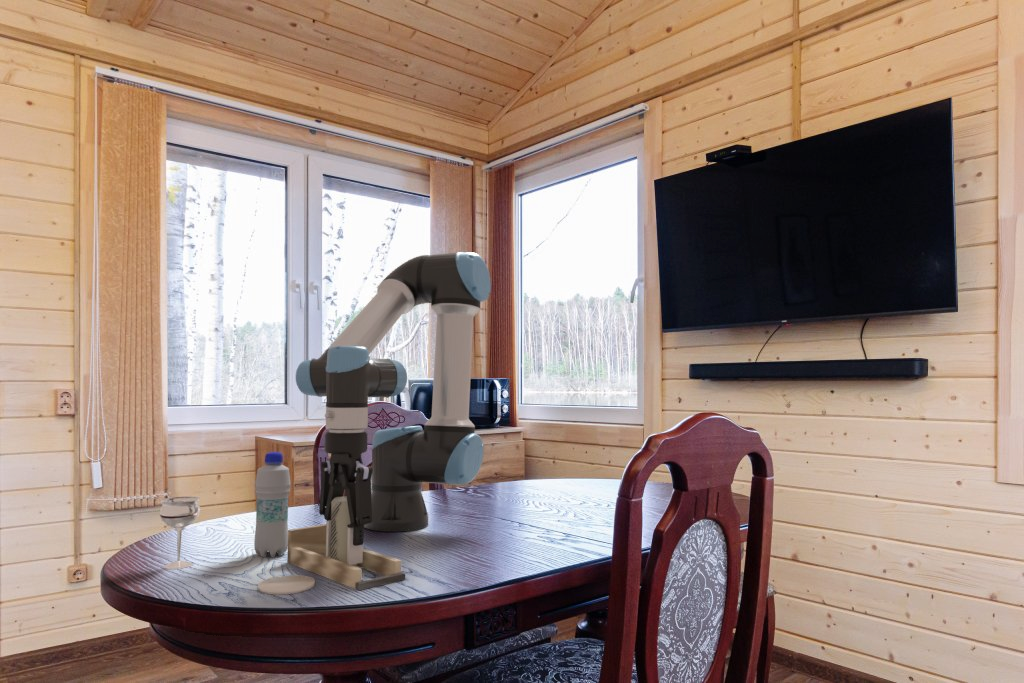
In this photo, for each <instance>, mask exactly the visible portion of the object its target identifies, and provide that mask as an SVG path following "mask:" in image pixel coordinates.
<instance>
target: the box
mask: <svg viewBox="0 0 1024 683" xmlns="http://www.w3.org/2000/svg"><path fill="white" fill-rule="evenodd" d="M349 524H351V522H350V516H349V510H348V503H347V497H346V496H343V497H335V498H334V499H333V500H332V502H331V537H330V557H329V558H332V559H335V560H338V561H341V562H344V563H346V564H347V539H348V526H347V525H349ZM352 566H355V567H358V566H357V564H352Z"/></svg>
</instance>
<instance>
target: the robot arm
mask: <svg viewBox="0 0 1024 683" xmlns="http://www.w3.org/2000/svg"><path fill="white" fill-rule="evenodd" d="M487 266H488V265H487V264H486V262H485V260H484V259H483V257H481V255H480V254H478V253H476V252H472V251H471V252H468V251H467V252H462V251H458V252H449V253H441V254H440V253H437V254H423V255H418V256H415V257H413V258H410V259H408V260H407V261H405V262H403V263H401V264H400V265H399V266H397V267H396V268H395V269H393V270H392V271H391V272H390V273H388V275H386V277H384V279H383V280H382V281H381V282H380V283H379V285H378V287H377V288H376V289H377V293H376V294H375V295H374V296H373V297H372V298H371V299H370V301H368V303H367V304H365V306H364V308H363V309H362V310H361V311H360V312H359V313H358V314H357V315H356V316H355V317H354V319H353V320H351V322H350V323H349V324H348V325H347V326H346V327H345V329H344V330H342V332H341V333H340V334H339V335H338V336H337V337H336V339H335V340H334V341H333V342H332V343H331V344H330V345H329V346H328V348H326V350H324V352H323V353H322V354H321V355H320V356H319V357H318V358H314V357H313V358H311V359H305V360H303V361H301V362H300V363H299V364H298V366H297V369H296V371H295V383H296V386H297V388H298V389H299V391H300V392H301V393H302V394H304V395H306V396H311V397H312V396H313V397H314V396H315V397H319V398H321V397H326V398H325V399H326V400H325V401H326V402H325V407H326V408H325V413H324V417H325V429H326V430H328V431H327V432H325V434H324V452H326V453H327V454H330V458H329V460H326V461H324V460H323V461H321V462H320V469H321V472H320V473H321V481H320V494H319V507H318V508H319V509H318V513H319V515H320V516H323V517H324V520H325V521H326V557H329V558H330V537H331V502H332V500H333V499H334V498H335V497H344V493H345V497H347V503H348V510H349V516H350V522H351V524H349V525H347V526H348V539H347V564H349V565H352V564H357V563H362V562H363V549H364V535H365V529H366V530H371V531H377V532H408V531H416V530H419V529H423V528H426V527H427V526H428V525H429V513H428V511H427V510H428V509H427V506H426V503H425V500H424V496H423V493H422V483H425V484H428V483H429V484H439V485H448V486H454V485H455V486H457V485H459V486H462V485H463V486H465V485H468V484H470V483H471V482H472V481H473V480H474V479H475V478H476V477H477V475H478V473H479V472H480V470H481V467H482V464H483V459H484V450H485V447H484V444H483V442H484V441H483V439H482V437H481V436H480V435H479V434H477V433H475V431H476V430H475V429H476V426H475V424H474V423H473V422H472V421H471V420H470V398H471V395H470V394H471V380H472V379H471V377H472V355H473V354H472V353H473V352H472V351H473V332H474V318H475V316H476V315H478V313H479V312H480V311H481V302H485V301H487V300H488V299H489V298H490V294H491V290H492V289H491V288H492V287H491V286H492V283H491V276H490V275H491V274H490V271H489V268H488V267H487ZM422 304H423V305H424V304H430V308H431V310H432V311H433V312H434V313H435V315H436V327H435V328H436V329H435V330H436V331H435V348H434V364H433V365H434V366H433V367H434V368H433V385H432V402H431V403H432V404H431V417H430V418H429V419H428V420H427V421H426V422H425V423H424V428H423V427H422V425H411V426H405V427H404V426H403V427H394V428H387V429H386V428H385V429H379V430H377V431H375V432H374V433H373V437H372V445H371V446H372V447H371V452H372V453H371V457H372V458H371V466H365V465H363V459H362V454H364V453H366V452H367V451H368V433H367V432H366V431H365V430H366V429H368V428H369V423H368V422H369V407H368V406H369V398H390V397H395V396H398V395H400V394H401V393H402V392H403V391H404V390H405V388H406V386H407V381H408V373H407V370H406V368H405V366H404V365H403V364H402V363H401V362H400V361H398V360H395V359H390V358H370V355H371V353H372V352H373V351H374V350H375V348H376V347H377V346H378V345H379V344H380V343H381V341H382V340H383V339H384V337H385V336H386V335H387V334H388V333H389V331H390V330H391V329H392V328H393V326H394V325H395V324H396V323H397V321H398V320H399V319H400V317H402V316H403V315H407V314H408V313H410V312H411V311H412V310H413V308H414V307H416V306H419V305H422ZM423 430H424V431H423Z"/></svg>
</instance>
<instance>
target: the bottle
mask: <svg viewBox="0 0 1024 683" xmlns="http://www.w3.org/2000/svg"><path fill="white" fill-rule="evenodd" d="M283 460H284V456H283V453H282V452H279V451H270V452H267V453H266V454H265V456H264V464H265V465H263V466H261V467H259V468H258V469H257V471H256V479H255V481H254V482H255V483H254V488H255V491H254V492H255V494H256V510H255V512H256V514H255V531H254V533H255V534H254V541H253V542H254V544H253V545H254V546H253V547H254V551H255V554H256V555H257V556H261V557H262V558H266V557H267V554H268V553H269V554H270V557H271V558H274V557H275V556H276V553H277V555H278V556H282V555H284V554H285V553H286V551H288V530H289V522H288V520H289V519H288V517H289V493H290V492H291V485H292V483H291V475H290V468H289V467H288V466H285V465H284V464H283V462H284V461H283Z"/></svg>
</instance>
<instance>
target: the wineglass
mask: <svg viewBox="0 0 1024 683" xmlns="http://www.w3.org/2000/svg"><path fill="white" fill-rule="evenodd" d="M200 500H201V497H198V496H173V497H172V496H171V497H167V498H163V499H161V500H160V503H161V505H162V506H161V508H160V510H159V516H160V519H161V521H163V523H165V524H166V525H167V526H169V527H170V528H174V530H175V532H176V533H177V534H176V537H177V538H176V540H177V545H176V546H177V549H176V550H177V555H176V556H177V560H176V561H175V560H174V561H173V562H169V563H166V564H165V565H164V566H163V568H164V569H167V570H168V569H169V570H179V569H184V568H185V569H187V568H189V567H191V566H193V565H194V563H193V562H189V561H184V560H181V549H182V547H181V546H182V535H183V531H184V530H185V528H186V527H188V526H190V525H192V524H193V523H194V522H195V521H196V520H197V519H198V518H199V515H200V512H201V506H200V504H199V501H200Z"/></svg>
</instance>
